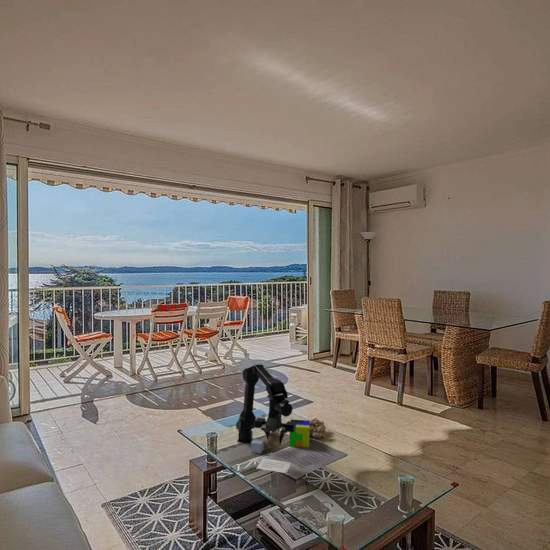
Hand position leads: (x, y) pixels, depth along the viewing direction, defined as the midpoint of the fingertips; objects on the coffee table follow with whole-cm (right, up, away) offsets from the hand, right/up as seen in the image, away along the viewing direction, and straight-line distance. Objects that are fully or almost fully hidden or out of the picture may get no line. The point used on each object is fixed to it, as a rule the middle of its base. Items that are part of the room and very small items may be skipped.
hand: (274, 443), depth 185 cm
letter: (0, -11, 0) cm, 11 cm away
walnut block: (0, -1, 0) cm, 1 cm away
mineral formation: (+23, -11, +36) cm, 44 cm away
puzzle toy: (+13, -11, +26) cm, 31 cm away
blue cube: (-9, -10, +15) cm, 20 cm away
